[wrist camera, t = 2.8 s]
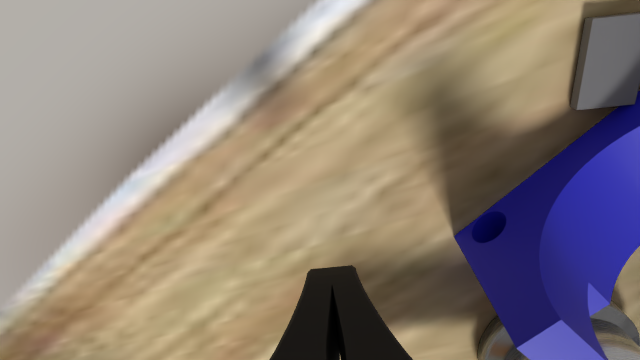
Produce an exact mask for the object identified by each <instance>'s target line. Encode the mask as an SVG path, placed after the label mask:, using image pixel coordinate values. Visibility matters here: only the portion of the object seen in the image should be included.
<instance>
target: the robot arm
mask: <svg viewBox="0 0 640 360" xmlns="http://www.w3.org/2000/svg"><path fill="white" fill-rule="evenodd" d="M340 356H341V360H413V359H412V358H411V357H410V356H409V355H408V353H407V352H406V351H405V350H404V348H403V347H402V346H401V345H400V343H399V342H398V341H397V339H396V338H395V337H394V335H393V334H392V333H391V331H390V330H389V329H388V327H387V326H386V324H385V323H384V321H383V320H382V318H381V317H380V315H379V314H378V312H377V310H376V309H375V307H374V306H373V304H372V302H371V301H370V299H369V297H368V295H367V294H366V292H365V290H364V288H363V286H362V284H361V282H360V279H359V277H358V274H357V272H356V268H354V267H353V266H352V265H351V266H341V267H330V268H320V269H311V270H310V271H309V272H308V273H307V277H306V281H305V285H304V288H303V291H302V294H301V296H300V299H299V302H298V304H297V306H296V309H295V311H294V313H293V316H292V318H291V320H290V322H289V324H288V327H287V328H286V330H285V332H284V334H283V336H282V338H281V340H280V342H279V344H278V346H277V348H276V350H275V351H274V353H273V355H272V357H271V358H270V360H340Z"/></svg>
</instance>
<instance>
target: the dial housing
mask: <svg viewBox="0 0 640 360" xmlns="http://www.w3.org/2000/svg"><path fill="white" fill-rule="evenodd" d="M590 318H595V319H601V320H605V321H608V322H611V323H613V324H615V325H617V326H619V327H620V328H622V329H623V330H624V331H625V332H626V333H627V334H628V335H629V336H630V338H631V339H632V340H633V341H634V342H635V343H636V344H637V345H638V346H639V348H640V338H639V333H638V331H637V328H636V327H635V325H634V323H633V322H632V321H631V320H630V319H629V318H628V317H627V316H626V315H625V314H624V313H623V312H622V310H621V309H620V308H619V307H618V306H617V305H616V304H615V303H614V302H613V301H612V300H611V301H610V304H609V305H607V306H606V307H604V308H603V309H601V310H599V311H598V312H596V313H595V314H593V315H591V316H590ZM513 346H514V343H513V341H512V340H511V338H510V336H509V334H508V332H507V331H506V329H505V327H504V325H503V323H502V322H501V320H500V318H499V316H497V317H496V318H495V319H494V320H493V321H492V322H491V323H490V324H489V326H488V327H487V328H486V330H485V331H484V333H483V335H482V337H481V340H480V342H479V347H478V360H503V359H504V358H505V356H506V354H507V353H508V352H509V351H510V349H511V348H512V347H513Z"/></svg>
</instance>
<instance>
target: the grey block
mask: <svg viewBox="0 0 640 360" xmlns="http://www.w3.org/2000/svg"><path fill="white" fill-rule="evenodd" d="M639 84H640V12H636V13H627V14H618V15H609V16H599V17H590V18H585V23H584V29H583V35H582V41H581V46H580V52H579V58H578V64H577V70H576V76H575V81H574V87H573V93H572V99H571V105H570V107H571V108H573V109H575V110H584V109H593V108H603V107H613V106H623V105H632V104H635V101H636V97H637V93H638V88H639Z"/></svg>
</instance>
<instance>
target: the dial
mask: <svg viewBox="0 0 640 360" xmlns="http://www.w3.org/2000/svg"><path fill="white" fill-rule="evenodd" d="M590 319H591V323H592V327H593V330H594V333H595V335H596V337H597V340H598V342H599V344H600V346H601V348H602V350H603V351H604V353H605V355H606V357H607V358H608V360H640V348H639V346H638V345H637V344H636V343H635V342H634V341H633V340H632V339H631V338H630V336H629V335H628V334H627V333H626V332H625V331H624V330H623V329H622V328H620V327H619V326H617V325H615V324H613V323H611V322H608V321H605V320H601V319H595V318H590ZM503 360H530V359H529V358H527V357H526V356H525V355H524V354H523V353H521V352H520V351H519V350H518V349H517V348H516V347H515V345H514V346H513V347H512V348H511V349H510V351H509V352H508V353H507V354H506V356H505V358H504V359H503Z"/></svg>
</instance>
